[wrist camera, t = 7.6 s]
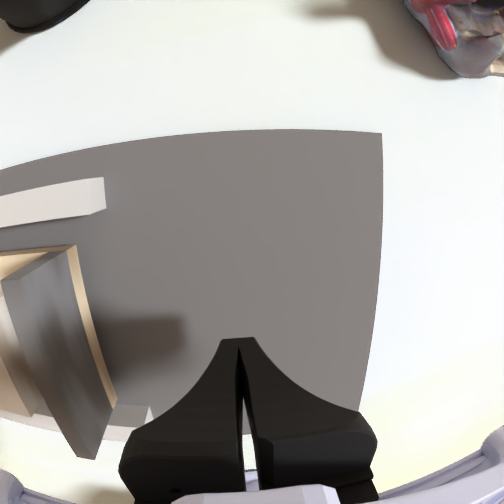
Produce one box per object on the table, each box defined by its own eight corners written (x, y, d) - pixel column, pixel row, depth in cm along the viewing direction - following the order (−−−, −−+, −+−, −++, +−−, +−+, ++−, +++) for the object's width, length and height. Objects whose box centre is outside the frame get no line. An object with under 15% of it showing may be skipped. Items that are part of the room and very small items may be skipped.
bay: (355, 414, 19) (373, 452, 15) (-15, 403, 17) (-33, 428, 13) (379, 133, 14) (421, 127, 10) (-79, 199, 12) (-112, 208, 8)
